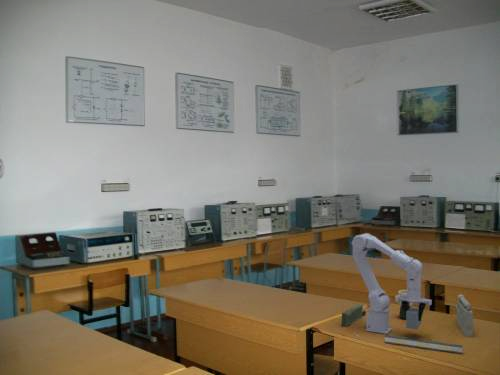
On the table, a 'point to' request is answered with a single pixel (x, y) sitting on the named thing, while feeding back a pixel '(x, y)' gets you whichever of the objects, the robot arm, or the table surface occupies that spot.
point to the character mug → (403, 294)
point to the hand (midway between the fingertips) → (413, 319)
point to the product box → (412, 318)
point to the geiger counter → (464, 316)
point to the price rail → (424, 344)
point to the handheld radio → (352, 315)
